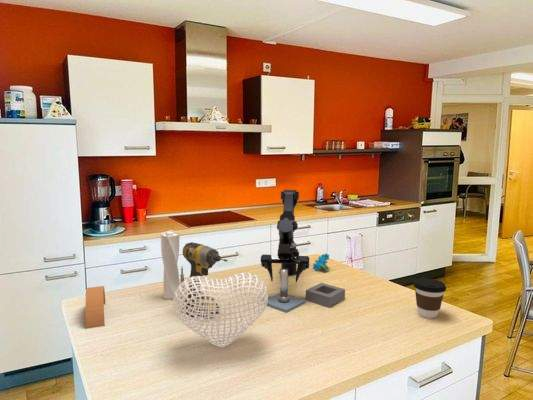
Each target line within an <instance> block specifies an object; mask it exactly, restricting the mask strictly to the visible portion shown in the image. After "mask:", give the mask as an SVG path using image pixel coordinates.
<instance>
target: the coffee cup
mask: <svg viewBox="0 0 533 400" xmlns="http://www.w3.org/2000/svg"><path fill="white" fill-rule="evenodd" d="M412 285H413V287H414V288H415V289H414V291H415V292H414V293H415V302H416V303H415V304H416V306H417V312H418V314H419V315H420V317H422V318H425V319H426V318H427V319H435V318H437V317H438V316H439V311H440V309H441V307H442V302H443V298H444V293H445V292H446V291H447V285H446V284H445V283H444V282H443V281H441V280H439V279H435V278H429V277H428V278H427V277H420V278H416V279H415V280H414V282H413V284H412Z"/></svg>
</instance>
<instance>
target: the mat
mask: <svg viewBox="0 0 533 400" xmlns="http://www.w3.org/2000/svg"><path fill="white" fill-rule="evenodd" d="M279 294H280V292H279V293H277V294H275V295H273V296H271V297H268V302H267V305H266V307H269V308H271V309H275V310H278V311H281V312H283V313H286V314H288V313H289V312H292V310H295V309H296V308H299V307H300V306H301V307H302V305H304V304H306V302H307V300H306V299H303V298H300V297H297V296H293V295H291V294H289V295H290V301H289V302H288V303H280V302H279V301H278V295H279ZM264 303H265V302H264Z"/></svg>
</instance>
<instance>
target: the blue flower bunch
mask: <svg viewBox="0 0 533 400" xmlns="http://www.w3.org/2000/svg"><path fill="white" fill-rule="evenodd" d="M328 260H330V254H327V253H322V254H321V256H319V257H318V259H315V261H314V263H313V264H312V269H313V270H315V271H318V270H321V268H322V269H323V270H325V271H326V272H327V273H329V272H330V271H329V267H328V266H327V263H328Z"/></svg>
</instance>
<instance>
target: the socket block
mask: <svg viewBox="0 0 533 400" xmlns="http://www.w3.org/2000/svg"><path fill="white" fill-rule="evenodd" d="M345 296H346V288H342V287H339V286H336V285H335V286H334V285H332V284H328V283H323V282H320V283H318V284H316V285H314V286H312V287H310V288H308V289H306V290H305V300H306V302H307V301H308V302H311V303H314V304H317V305H320V306H324V307H326V308H328V309H330V308H332V307H333V306H335V305H337V304H339V303H340V302H343V301H344V300H345V299H346V297H345Z"/></svg>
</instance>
